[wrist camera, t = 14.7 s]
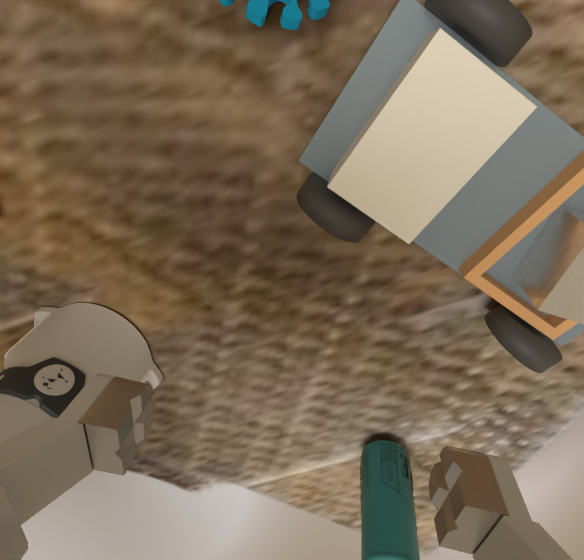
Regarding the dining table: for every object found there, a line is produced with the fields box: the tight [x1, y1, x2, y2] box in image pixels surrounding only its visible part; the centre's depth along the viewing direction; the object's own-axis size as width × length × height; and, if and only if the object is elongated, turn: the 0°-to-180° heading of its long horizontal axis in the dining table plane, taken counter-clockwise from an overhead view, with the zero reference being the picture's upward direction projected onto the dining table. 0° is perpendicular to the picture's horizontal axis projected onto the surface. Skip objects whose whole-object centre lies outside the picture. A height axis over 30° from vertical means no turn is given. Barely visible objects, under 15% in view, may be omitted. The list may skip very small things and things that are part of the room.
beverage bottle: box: [360, 440, 420, 560], centre depth 44 cm, size 6×7×20 cm
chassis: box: [297, 0, 584, 373], centre depth 31 cm, size 18×32×7 cm, turn 58°
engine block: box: [513, 205, 584, 324], centre depth 31 cm, size 7×5×6 cm
